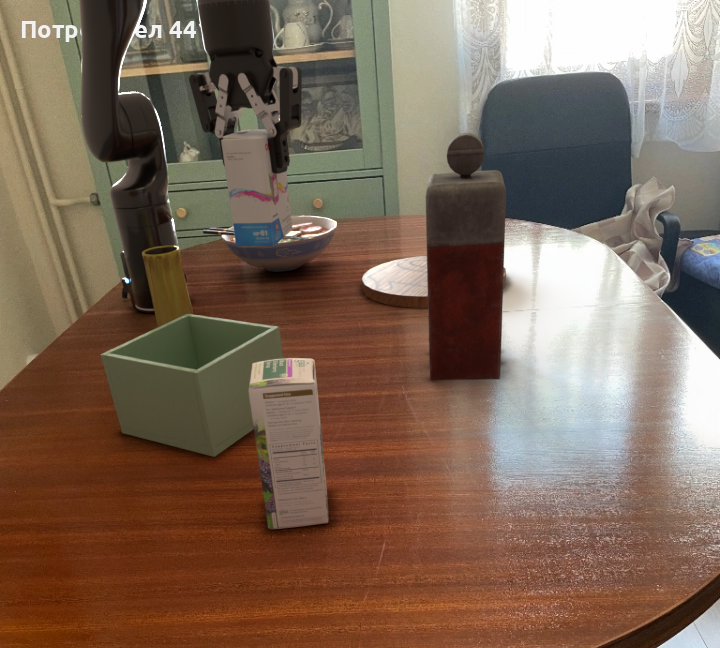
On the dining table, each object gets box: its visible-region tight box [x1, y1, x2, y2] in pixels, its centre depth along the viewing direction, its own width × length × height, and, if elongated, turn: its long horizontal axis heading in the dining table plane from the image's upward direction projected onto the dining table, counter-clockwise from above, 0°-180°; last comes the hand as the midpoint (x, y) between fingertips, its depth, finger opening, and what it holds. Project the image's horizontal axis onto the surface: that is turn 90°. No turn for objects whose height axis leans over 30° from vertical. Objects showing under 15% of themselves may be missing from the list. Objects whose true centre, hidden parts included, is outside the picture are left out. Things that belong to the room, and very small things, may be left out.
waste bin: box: [100, 313, 284, 458], centre depth 86 cm, size 14×14×10 cm
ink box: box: [221, 128, 292, 247], centre depth 85 cm, size 9×5×12 cm, turn 169°
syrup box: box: [248, 357, 330, 530], centre depth 66 cm, size 6×6×14 cm
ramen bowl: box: [202, 215, 338, 273], centre depth 143 cm, size 25×23×8 cm
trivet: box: [361, 254, 507, 309], centre depth 127 cm, size 25×25×2 cm
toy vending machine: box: [425, 132, 507, 381], centre depth 90 cm, size 9×11×28 cm
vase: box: [142, 245, 195, 328], centre depth 107 cm, size 6×6×14 cm
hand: (257, 171), depth 84 cm, fingers closed on ink box, 6 cm apart
